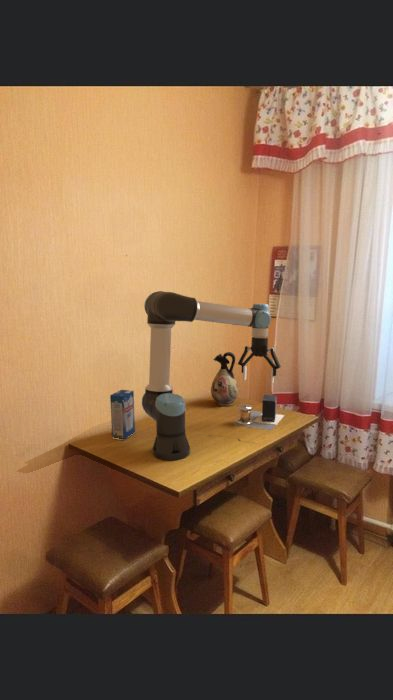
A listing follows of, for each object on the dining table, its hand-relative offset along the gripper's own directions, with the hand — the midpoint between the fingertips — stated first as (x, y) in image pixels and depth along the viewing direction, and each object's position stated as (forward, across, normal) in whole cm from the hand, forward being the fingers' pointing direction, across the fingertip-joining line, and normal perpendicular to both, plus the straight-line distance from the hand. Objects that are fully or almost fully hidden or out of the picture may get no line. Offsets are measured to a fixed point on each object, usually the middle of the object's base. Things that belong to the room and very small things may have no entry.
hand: (258, 381), depth 204 cm
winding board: (+21, -1, -3) cm, 21 cm away
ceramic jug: (+21, +26, -25) cm, 42 cm away
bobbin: (+20, +4, +5) cm, 21 cm away
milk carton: (+23, +50, +39) cm, 68 cm away
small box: (+19, -4, -5) cm, 20 cm away
